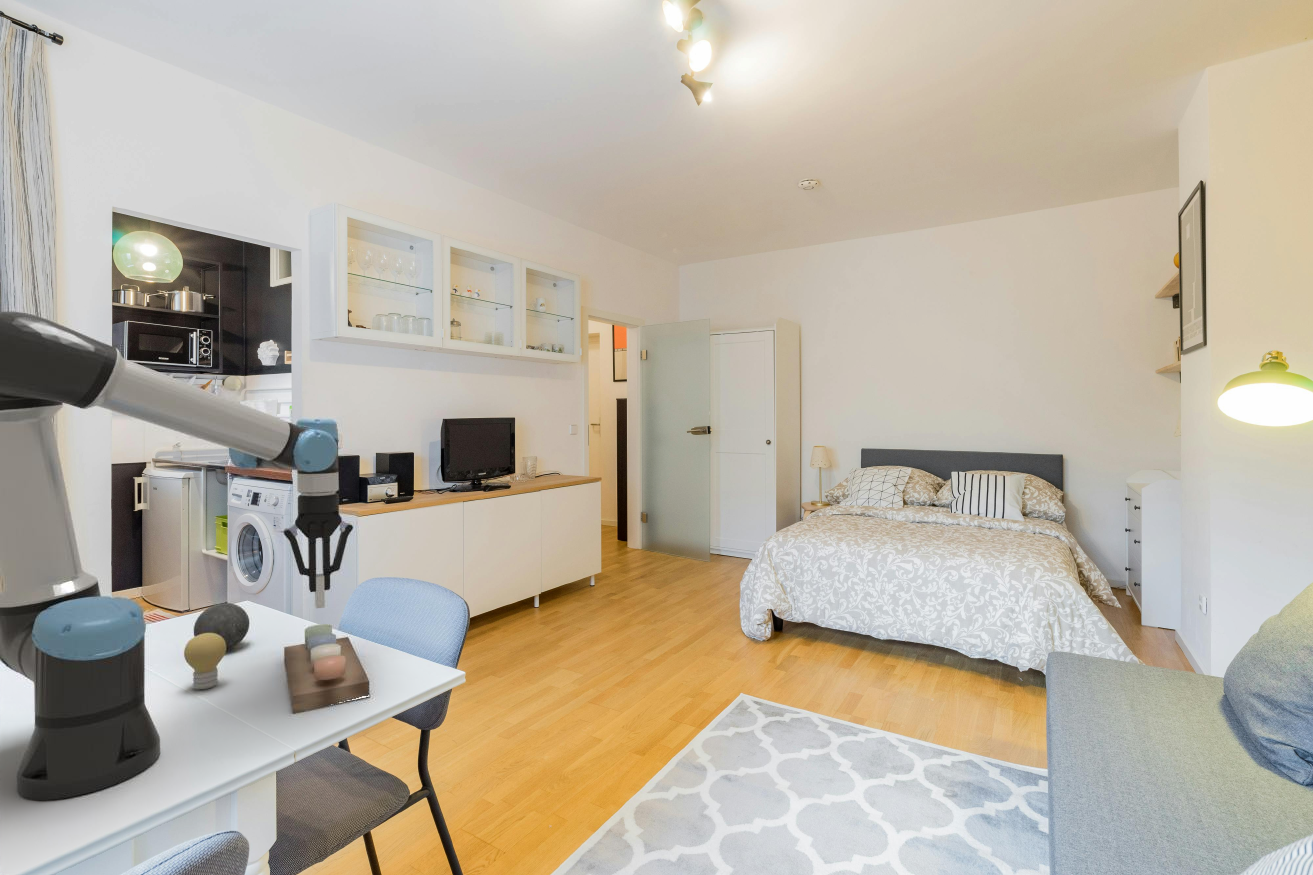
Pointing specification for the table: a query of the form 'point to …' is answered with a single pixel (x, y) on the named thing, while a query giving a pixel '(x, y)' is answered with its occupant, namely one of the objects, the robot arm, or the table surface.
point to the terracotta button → (329, 667)
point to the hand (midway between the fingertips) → (319, 606)
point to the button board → (323, 692)
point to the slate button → (320, 640)
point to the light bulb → (205, 658)
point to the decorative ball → (224, 623)
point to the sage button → (317, 631)
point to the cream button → (324, 651)
